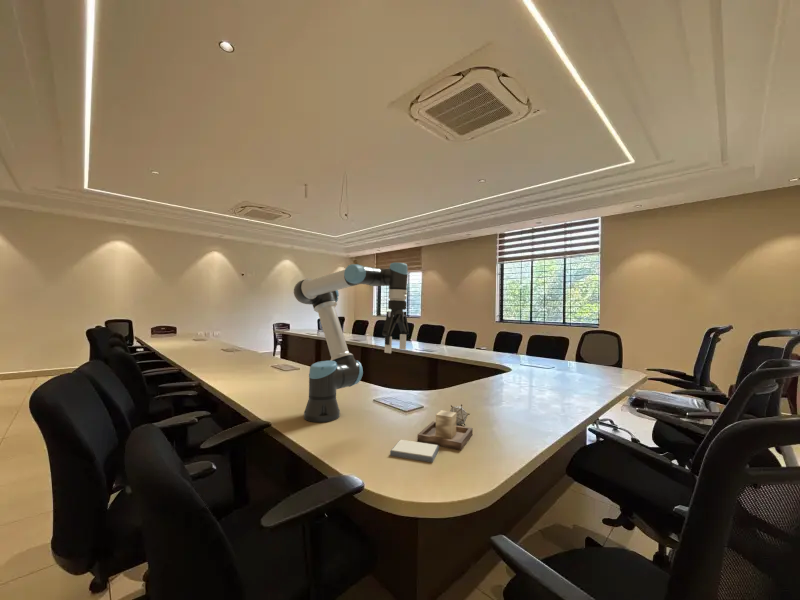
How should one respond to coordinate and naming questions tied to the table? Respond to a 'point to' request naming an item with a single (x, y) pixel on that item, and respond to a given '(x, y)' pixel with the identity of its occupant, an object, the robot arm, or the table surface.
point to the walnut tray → (456, 443)
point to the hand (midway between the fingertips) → (395, 351)
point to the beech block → (446, 424)
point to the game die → (460, 414)
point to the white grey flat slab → (415, 450)
